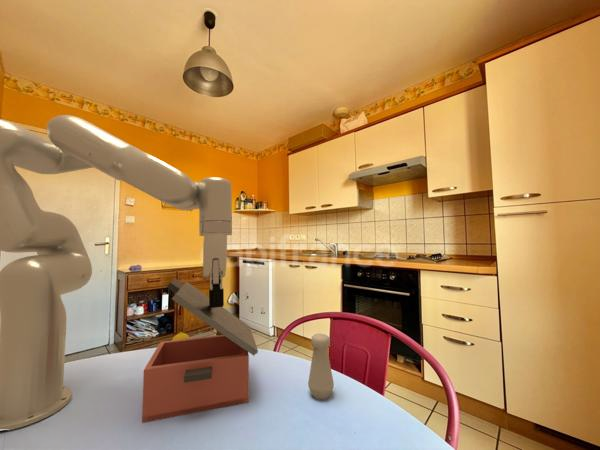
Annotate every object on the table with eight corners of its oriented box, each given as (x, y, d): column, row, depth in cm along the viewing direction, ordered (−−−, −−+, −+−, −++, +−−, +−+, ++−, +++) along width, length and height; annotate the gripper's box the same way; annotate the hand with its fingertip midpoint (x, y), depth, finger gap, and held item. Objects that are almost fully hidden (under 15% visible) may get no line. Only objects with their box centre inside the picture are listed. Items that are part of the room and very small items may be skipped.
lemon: (164, 364, 70) (165, 334, 71) (178, 355, 76) (179, 328, 76) (181, 366, 69) (182, 336, 69) (194, 357, 74) (195, 329, 75)
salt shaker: (315, 383, 60) (315, 329, 61) (337, 391, 57) (337, 333, 58) (303, 397, 55) (303, 337, 56) (327, 405, 52) (326, 342, 53)
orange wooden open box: (137, 432, 45) (139, 376, 46) (161, 377, 63) (162, 338, 64) (249, 409, 51) (249, 360, 52) (242, 365, 69) (242, 329, 70)
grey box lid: (160, 291, 49) (165, 286, 49) (175, 279, 64) (178, 275, 64) (256, 357, 54) (259, 352, 54) (248, 331, 69) (251, 327, 69)
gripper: (201, 230, 66) (202, 301, 65) (196, 228, 52) (196, 317, 51) (230, 230, 69) (231, 298, 68) (233, 227, 54) (234, 313, 53)
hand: (216, 306), depth 59 cm, fingers closed
